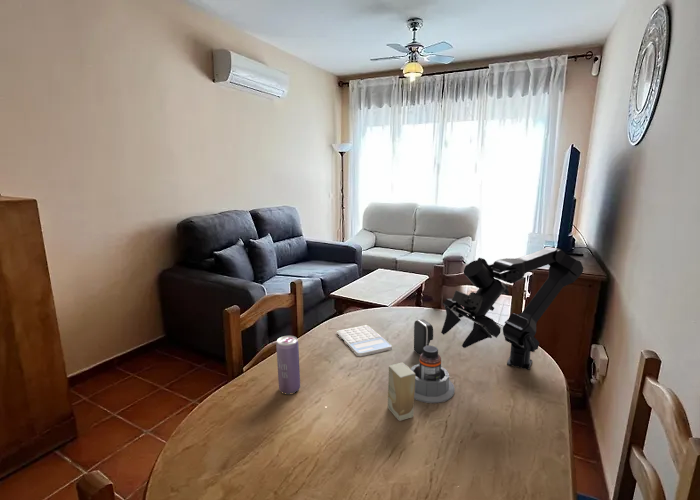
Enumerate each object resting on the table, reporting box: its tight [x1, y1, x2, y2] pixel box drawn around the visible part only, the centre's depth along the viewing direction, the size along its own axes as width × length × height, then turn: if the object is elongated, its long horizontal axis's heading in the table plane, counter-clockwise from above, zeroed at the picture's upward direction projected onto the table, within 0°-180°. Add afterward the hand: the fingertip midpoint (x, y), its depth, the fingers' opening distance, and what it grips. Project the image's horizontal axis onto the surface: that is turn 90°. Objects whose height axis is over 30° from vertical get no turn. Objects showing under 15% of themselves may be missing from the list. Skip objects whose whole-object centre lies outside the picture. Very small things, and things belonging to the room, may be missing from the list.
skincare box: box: [387, 361, 415, 422], centre depth 97 cm, size 6×4×12 cm
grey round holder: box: [410, 363, 456, 404], centre depth 108 cm, size 14×14×5 cm
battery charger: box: [413, 319, 434, 356], centre depth 127 cm, size 7×4×11 cm, turn 21°
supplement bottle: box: [418, 345, 442, 381], centre depth 107 cm, size 6×6×11 cm
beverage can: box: [275, 335, 301, 395], centre depth 107 cm, size 6×6×15 cm
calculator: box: [336, 324, 393, 357], centre depth 138 cm, size 13×20×2 cm, turn 24°
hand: (452, 340), depth 109 cm, fingers open, 9 cm apart
